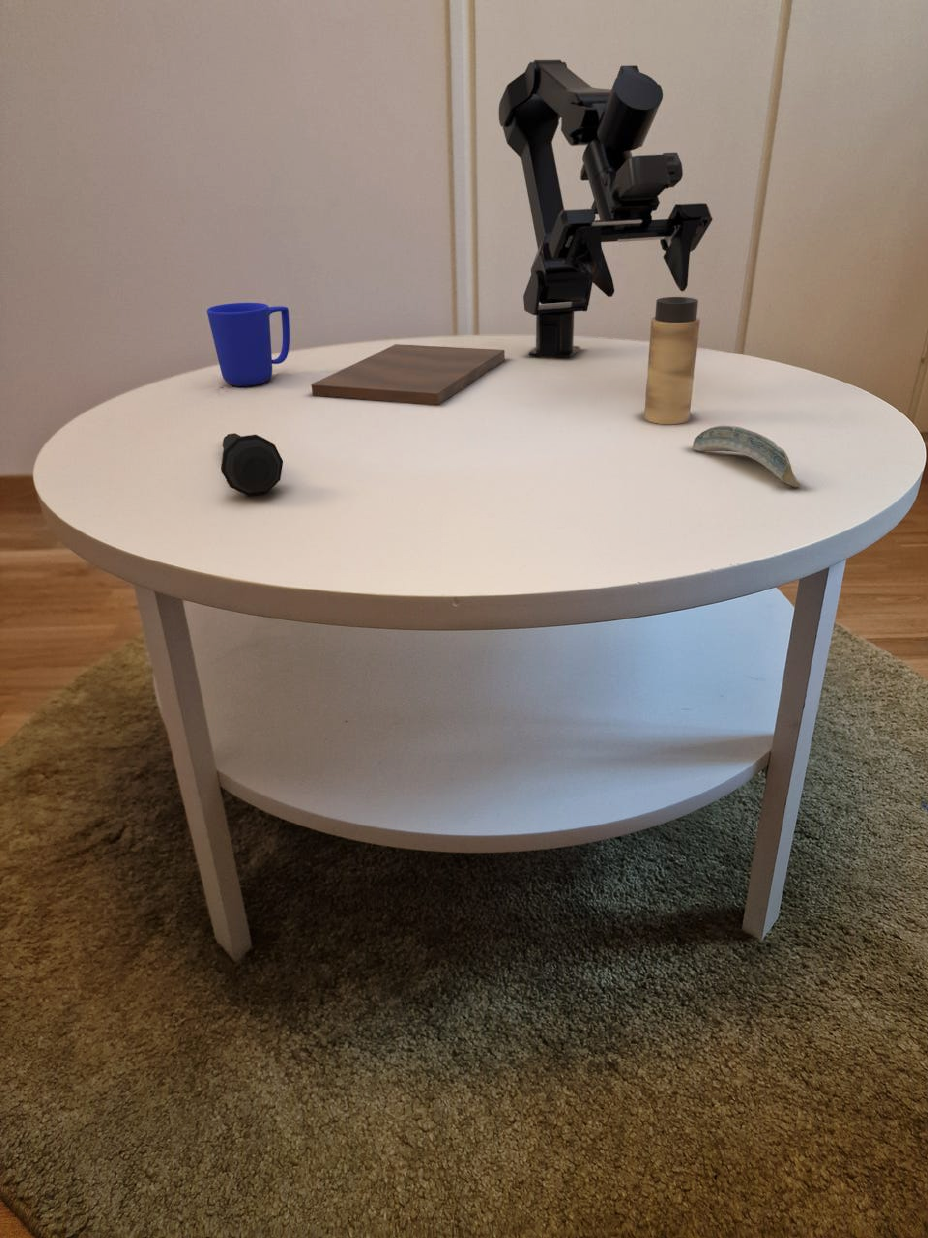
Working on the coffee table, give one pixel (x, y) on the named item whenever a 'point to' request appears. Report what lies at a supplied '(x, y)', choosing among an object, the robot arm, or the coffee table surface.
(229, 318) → the mug
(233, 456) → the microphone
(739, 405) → the coffee table surface
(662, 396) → the pepper mill
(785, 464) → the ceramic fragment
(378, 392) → the cutting board
